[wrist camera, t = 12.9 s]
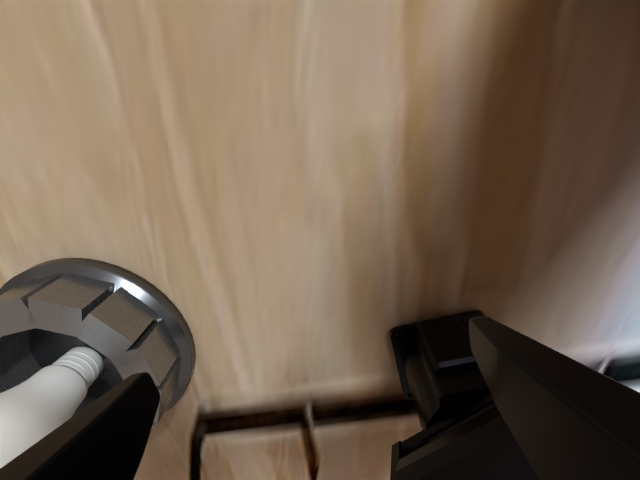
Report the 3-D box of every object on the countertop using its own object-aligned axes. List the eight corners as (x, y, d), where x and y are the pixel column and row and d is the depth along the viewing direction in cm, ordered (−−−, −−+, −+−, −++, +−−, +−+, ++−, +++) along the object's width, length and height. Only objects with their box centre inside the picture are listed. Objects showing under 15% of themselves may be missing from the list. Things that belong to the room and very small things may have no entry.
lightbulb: (70, 300, 21) (-168, 471, 11) (152, 349, 23) (7, 542, 12) (34, 357, 23) (-200, 550, 13) (112, 399, 24) (-45, 605, 14)
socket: (223, 396, 25) (205, 444, 22) (68, 426, 27) (26, 476, 23) (143, 235, 21) (102, 262, 17) (-41, 284, 22) (-115, 318, 18)
